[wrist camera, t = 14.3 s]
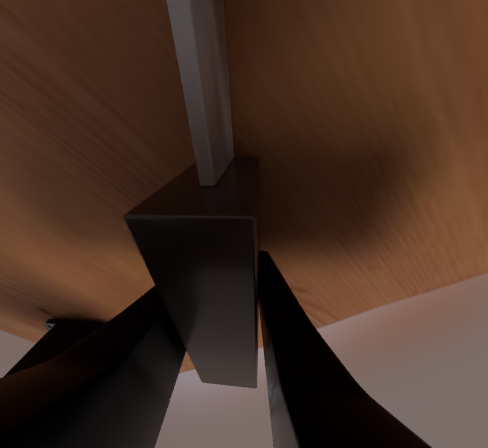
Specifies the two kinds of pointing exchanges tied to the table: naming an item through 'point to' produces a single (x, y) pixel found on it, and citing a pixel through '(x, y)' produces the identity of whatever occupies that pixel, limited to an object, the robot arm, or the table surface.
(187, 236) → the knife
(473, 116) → the table surface
